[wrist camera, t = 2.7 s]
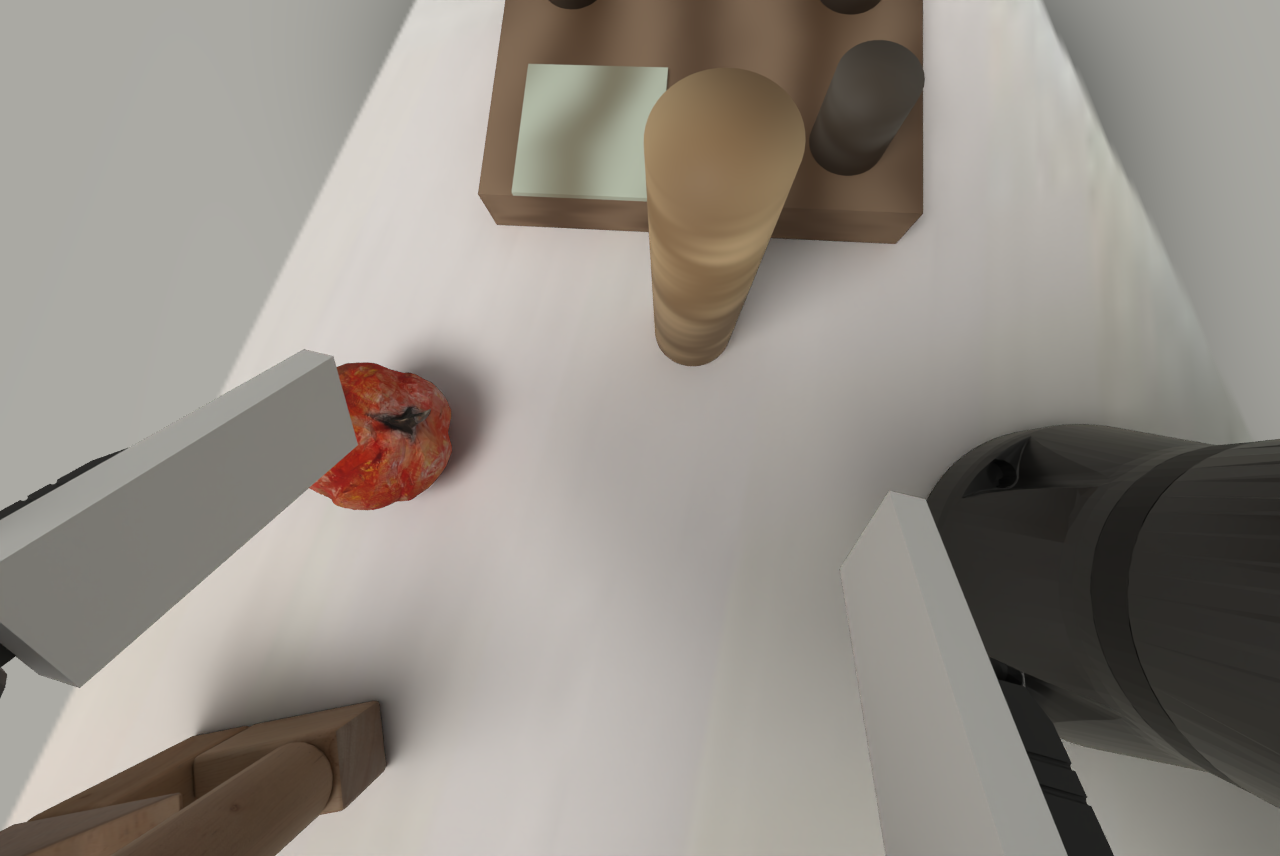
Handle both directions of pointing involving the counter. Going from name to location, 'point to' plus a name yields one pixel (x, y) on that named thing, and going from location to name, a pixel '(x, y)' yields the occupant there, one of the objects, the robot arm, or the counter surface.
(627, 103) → the wooden board with knobs
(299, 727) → the brown wooden angled piece
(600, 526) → the counter surface
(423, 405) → the pomegranate
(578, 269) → the counter surface
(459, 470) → the counter surface
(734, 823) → the counter surface
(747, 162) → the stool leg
